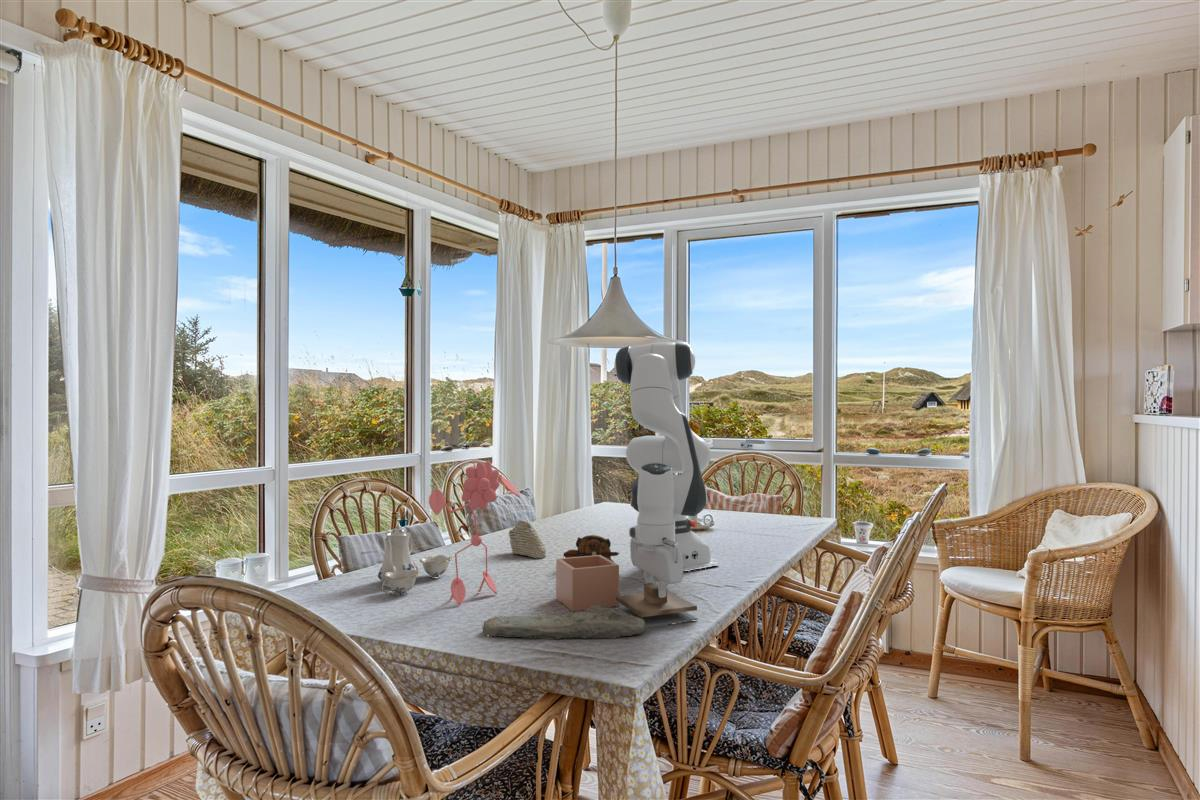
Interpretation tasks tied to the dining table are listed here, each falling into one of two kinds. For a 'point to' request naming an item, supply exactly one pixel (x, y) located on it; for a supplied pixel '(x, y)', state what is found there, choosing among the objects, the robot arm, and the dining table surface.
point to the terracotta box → (587, 582)
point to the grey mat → (661, 618)
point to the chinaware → (405, 563)
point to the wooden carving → (591, 547)
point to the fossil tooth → (526, 540)
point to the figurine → (479, 494)
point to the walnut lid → (655, 602)
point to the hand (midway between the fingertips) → (655, 593)
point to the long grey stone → (567, 625)
